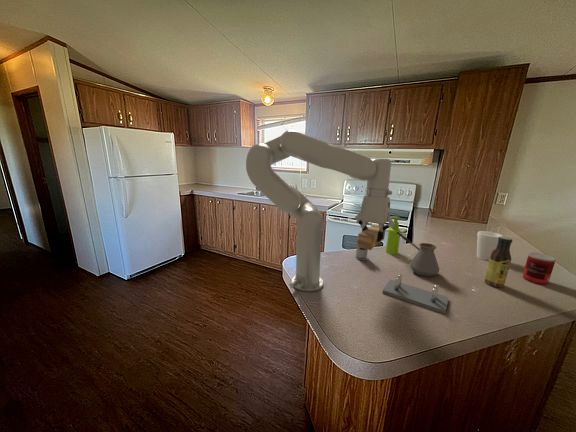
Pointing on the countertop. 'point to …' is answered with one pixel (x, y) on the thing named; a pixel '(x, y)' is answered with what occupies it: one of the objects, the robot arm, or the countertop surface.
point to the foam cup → (486, 244)
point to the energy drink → (361, 253)
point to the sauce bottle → (499, 263)
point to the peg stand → (417, 295)
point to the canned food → (538, 268)
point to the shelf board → (369, 237)
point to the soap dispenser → (393, 237)
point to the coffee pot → (424, 259)
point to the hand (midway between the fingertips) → (371, 238)
